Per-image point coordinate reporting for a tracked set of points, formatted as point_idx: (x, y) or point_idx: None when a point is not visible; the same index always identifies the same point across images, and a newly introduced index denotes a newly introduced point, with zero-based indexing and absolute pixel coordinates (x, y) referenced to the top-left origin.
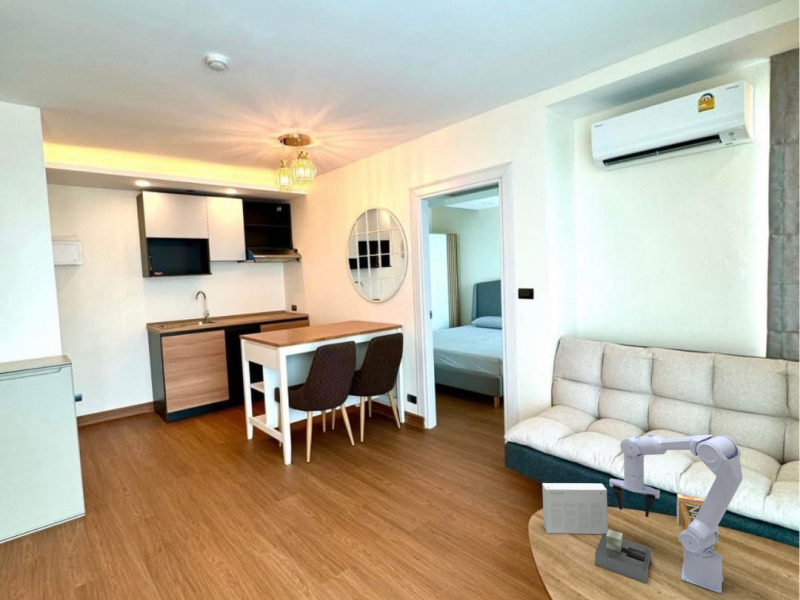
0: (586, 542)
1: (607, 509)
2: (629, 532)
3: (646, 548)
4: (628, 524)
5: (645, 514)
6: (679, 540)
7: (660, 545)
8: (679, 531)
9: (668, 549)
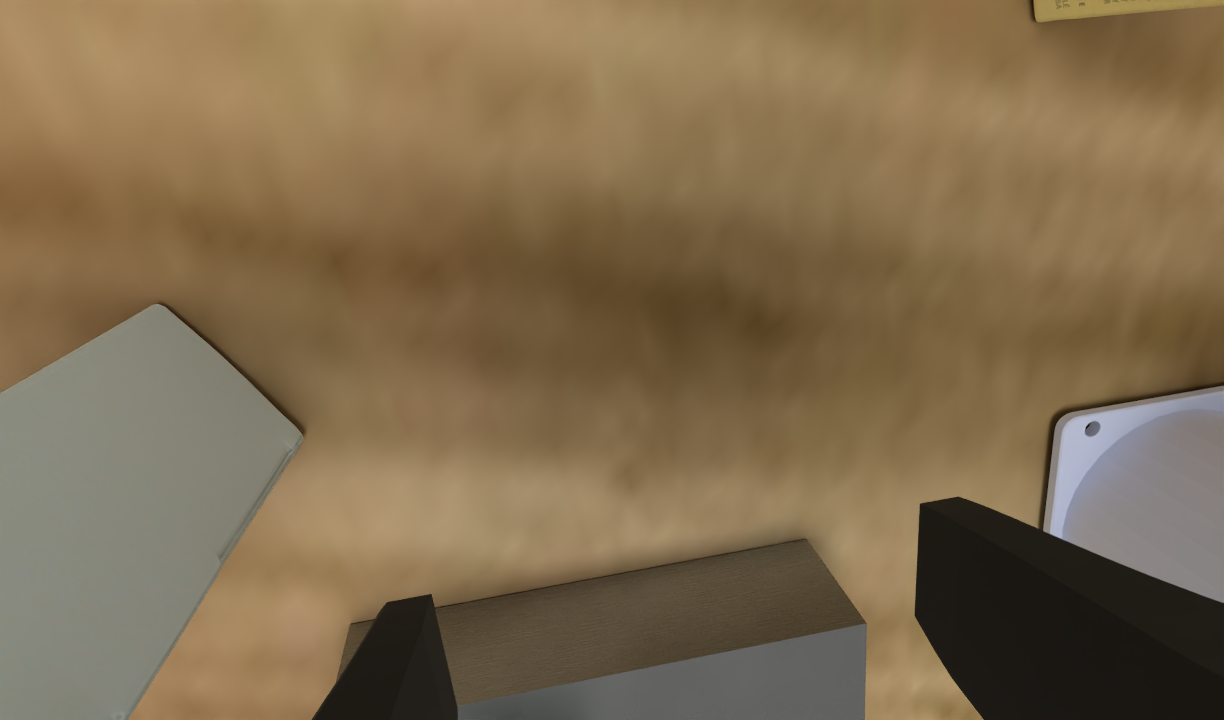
0: (200, 715)
1: (159, 662)
2: (491, 197)
3: (818, 664)
4: None
5: (949, 669)
6: (1065, 18)
7: (851, 226)
8: (1172, 7)
9: (930, 246)
